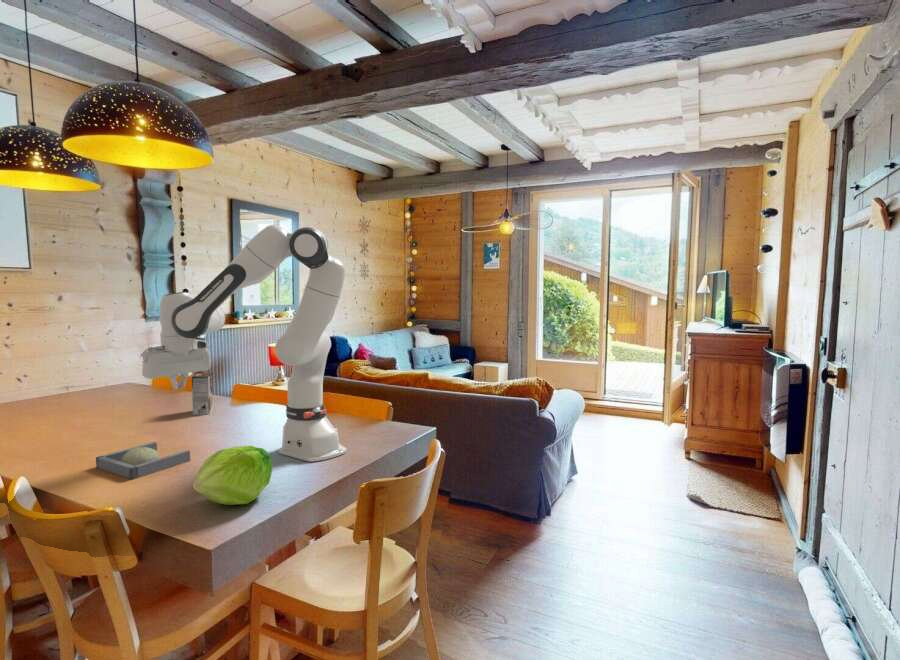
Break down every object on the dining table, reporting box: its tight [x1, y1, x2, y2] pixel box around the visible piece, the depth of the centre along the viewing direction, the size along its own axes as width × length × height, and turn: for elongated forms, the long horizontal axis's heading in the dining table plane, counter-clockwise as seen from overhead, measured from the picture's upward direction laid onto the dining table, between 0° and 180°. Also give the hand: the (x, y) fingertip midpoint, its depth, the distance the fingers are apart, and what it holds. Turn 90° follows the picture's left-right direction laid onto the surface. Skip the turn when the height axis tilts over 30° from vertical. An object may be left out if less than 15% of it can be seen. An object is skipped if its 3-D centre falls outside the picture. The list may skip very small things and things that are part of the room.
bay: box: [95, 441, 191, 480], centre depth 139 cm, size 16×18×3 cm
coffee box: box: [191, 372, 214, 416], centre depth 199 cm, size 9×6×16 cm
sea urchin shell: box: [121, 447, 161, 466], centre depth 138 cm, size 9×8×8 cm
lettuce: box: [192, 445, 273, 506], centre depth 114 cm, size 15×20×14 cm
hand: (179, 388), depth 147 cm, fingers closed
